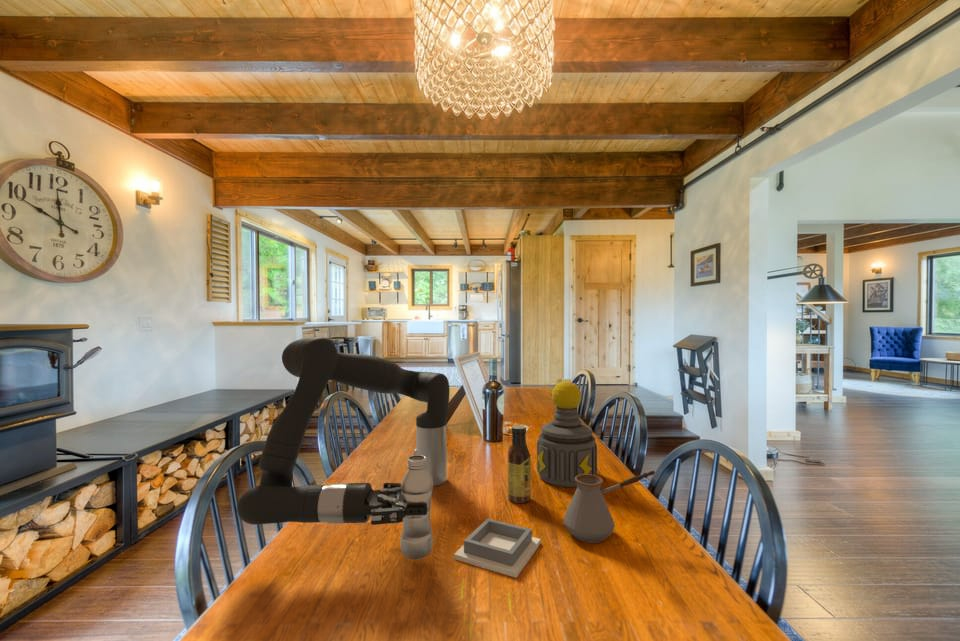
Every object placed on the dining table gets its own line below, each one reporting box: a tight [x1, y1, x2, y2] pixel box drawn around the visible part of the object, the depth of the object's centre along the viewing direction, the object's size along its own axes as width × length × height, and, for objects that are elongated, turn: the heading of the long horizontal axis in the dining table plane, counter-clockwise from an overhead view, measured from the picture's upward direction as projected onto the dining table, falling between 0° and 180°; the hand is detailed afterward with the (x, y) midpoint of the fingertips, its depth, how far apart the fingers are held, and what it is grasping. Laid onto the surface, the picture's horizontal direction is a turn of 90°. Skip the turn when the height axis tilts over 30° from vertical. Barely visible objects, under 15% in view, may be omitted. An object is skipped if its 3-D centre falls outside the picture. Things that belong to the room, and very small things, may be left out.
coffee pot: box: [563, 470, 659, 544], centre depth 98 cm, size 21×12×15 cm, turn 87°
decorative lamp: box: [536, 380, 598, 488], centre depth 134 cm, size 19×19×30 cm
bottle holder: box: [453, 518, 542, 579], centre depth 92 cm, size 14×14×4 cm
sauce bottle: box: [507, 425, 531, 504], centre depth 118 cm, size 7×6×20 cm
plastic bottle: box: [399, 454, 434, 560], centre depth 87 cm, size 6×7×20 cm
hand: (428, 501), depth 87 cm, fingers closed on plastic bottle, 6 cm apart
